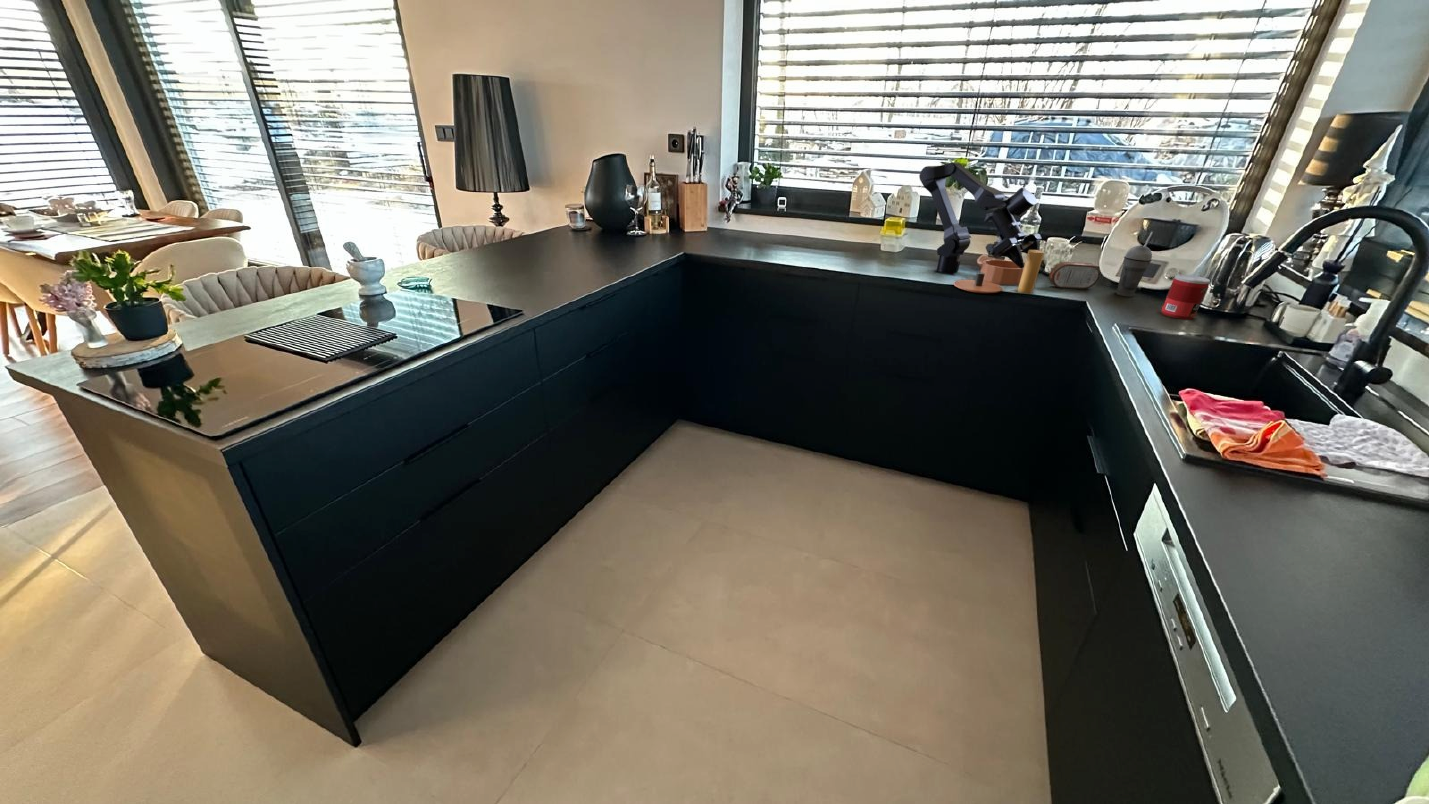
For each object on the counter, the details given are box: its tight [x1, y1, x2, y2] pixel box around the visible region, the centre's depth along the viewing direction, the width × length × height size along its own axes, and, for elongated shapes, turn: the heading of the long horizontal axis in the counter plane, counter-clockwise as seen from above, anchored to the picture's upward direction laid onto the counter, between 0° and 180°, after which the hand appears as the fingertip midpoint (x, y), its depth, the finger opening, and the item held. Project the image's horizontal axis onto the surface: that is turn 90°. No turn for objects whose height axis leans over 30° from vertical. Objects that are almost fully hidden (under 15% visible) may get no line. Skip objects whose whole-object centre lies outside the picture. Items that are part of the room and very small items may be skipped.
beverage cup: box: [1116, 231, 1154, 298], centre depth 176 cm, size 7×7×20 cm
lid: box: [953, 271, 1003, 294], centre depth 182 cm, size 15×15×5 cm
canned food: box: [1161, 274, 1211, 320], centre depth 159 cm, size 8×8×11 cm
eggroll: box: [1017, 250, 1045, 295], centre depth 178 cm, size 4×4×13 cm
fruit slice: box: [976, 253, 997, 268], centre depth 206 cm, size 8×7×5 cm
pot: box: [979, 258, 1024, 286], centre depth 193 cm, size 14×14×6 cm
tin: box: [1048, 261, 1101, 290], centre depth 184 cm, size 15×3×8 cm, turn 84°
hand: (1030, 266), depth 177 cm, fingers open, 9 cm apart
